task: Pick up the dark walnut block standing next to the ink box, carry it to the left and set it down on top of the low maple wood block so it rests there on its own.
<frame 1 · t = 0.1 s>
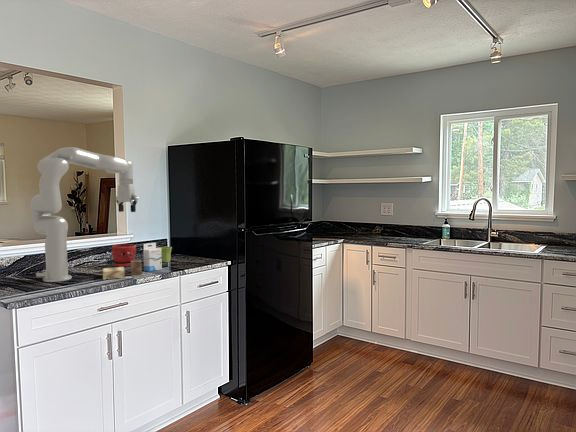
hand: (127, 211, 254), 31 cm above the worktop, tool pointing down, fingers open, 9 cm apart
walnut block: (136, 274, 229), on the worktop
plant pot 2: (124, 266, 254), on the worktop
plant pot: (164, 262, 266), on the worktop
ink box: (153, 270, 239), on the worktop
maple block: (113, 277, 222), on the worktop
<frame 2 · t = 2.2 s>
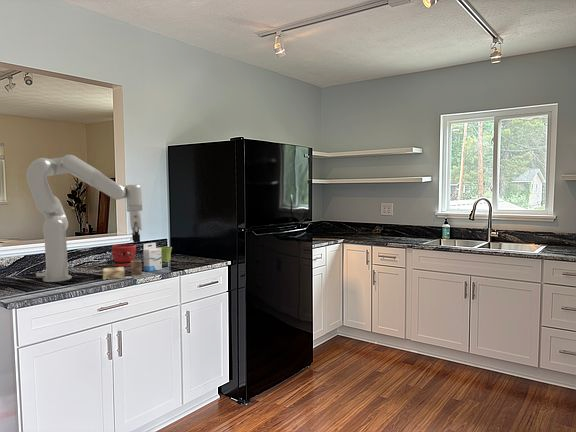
hand: (136, 241, 228), 17 cm above the worktop, tool pointing down, fingers open, 9 cm apart
nothing on the worktop moved.
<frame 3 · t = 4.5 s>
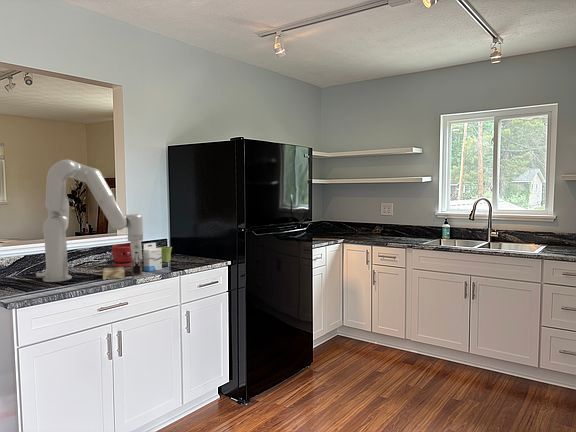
hand: (136, 272, 229), 1 cm above the worktop, tool pointing down, fingers closed on walnut block, 5 cm apart
walnut block: (136, 274, 229), on the worktop, touching gripper
everything else where it was.
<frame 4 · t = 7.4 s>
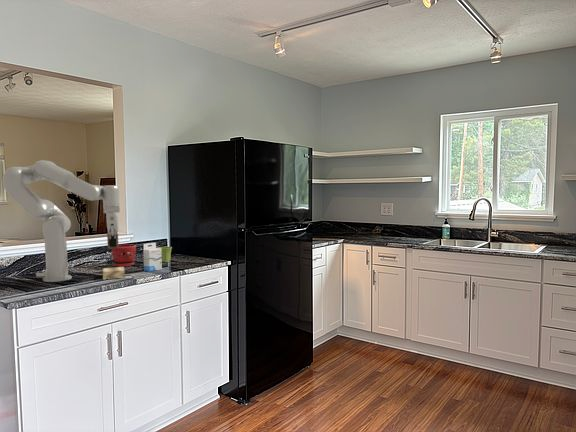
hand: (112, 245, 221), 16 cm above the worktop, tool pointing down, fingers closed on walnut block, 5 cm apart
walnut block: (113, 247, 221), point 15 cm above the worktop, touching gripper
everything else where it was.
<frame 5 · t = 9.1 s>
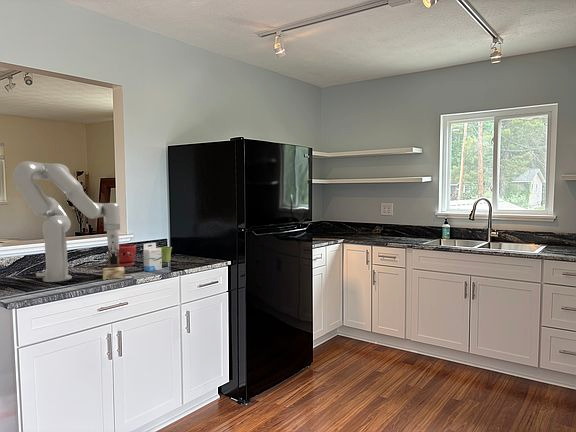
hand: (113, 262, 221), 7 cm above the worktop, tool pointing down, fingers closed on walnut block, 5 cm apart
walnut block: (114, 264, 221), point 6 cm above the worktop, touching gripper
everything else where it was.
when the fingers open (6 cm above the worktop, at t = 10.3 s): walnut block stays where it is, resting on maple block.
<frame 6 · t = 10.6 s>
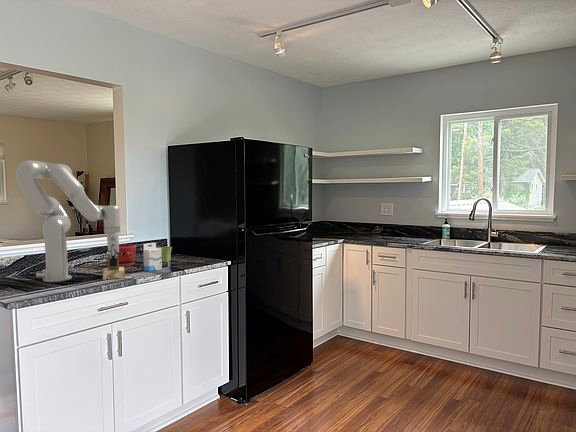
hand: (113, 264, 221), 6 cm above the worktop, tool pointing down, fingers open, 7 cm apart
walnut block: (113, 269, 221), point 4 cm above the worktop, touching maple block
everything else where it was.
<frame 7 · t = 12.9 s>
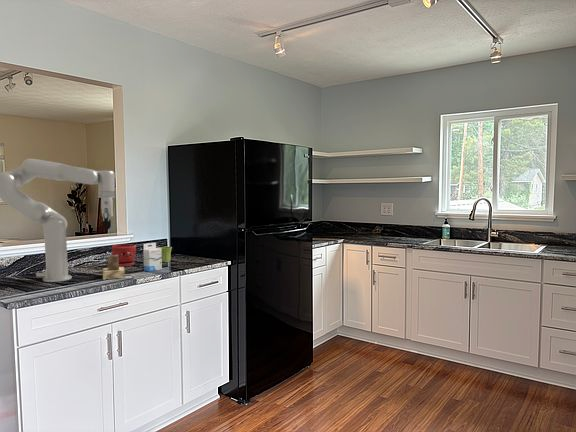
hand: (106, 228, 224), 25 cm above the worktop, tool pointing down, fingers open, 9 cm apart
nothing on the worktop moved.
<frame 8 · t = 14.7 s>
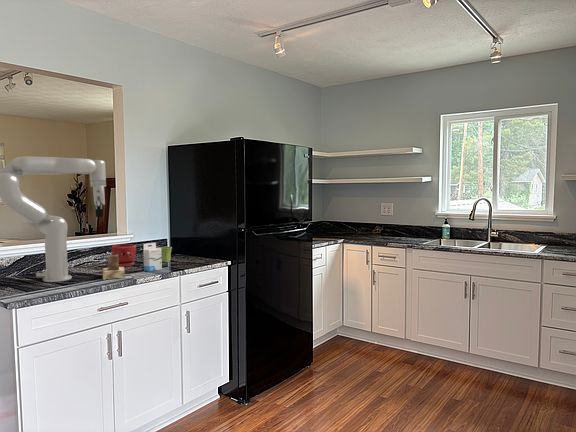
hand: (99, 216, 231), 30 cm above the worktop, tool pointing down, fingers open, 9 cm apart
nothing on the worktop moved.
at the end: walnut block inside the target area on the maple block (0.0 cm from its centre), point 4.0 cm above the maple block's base; walnut block tilted 0°; the gripper is holding nothing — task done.
